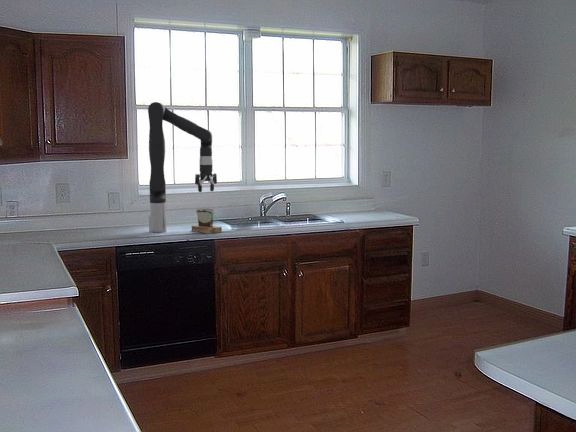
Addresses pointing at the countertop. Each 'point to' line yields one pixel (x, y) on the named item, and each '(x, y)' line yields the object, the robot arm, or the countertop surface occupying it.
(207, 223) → the food container
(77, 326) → the countertop surface
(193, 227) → the flat wooden block
